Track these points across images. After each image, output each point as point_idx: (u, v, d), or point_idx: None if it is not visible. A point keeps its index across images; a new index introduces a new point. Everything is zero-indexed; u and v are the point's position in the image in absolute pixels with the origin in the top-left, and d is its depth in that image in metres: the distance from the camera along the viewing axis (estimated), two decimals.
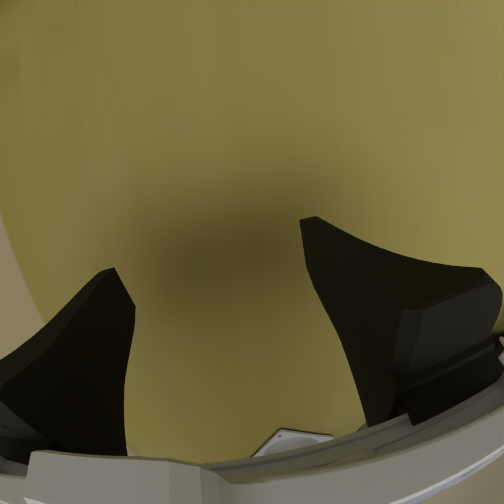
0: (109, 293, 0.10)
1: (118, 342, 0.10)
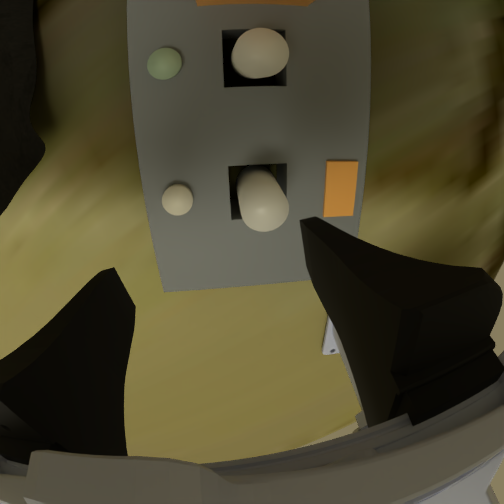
0: (109, 293, 0.10)
1: (118, 342, 0.10)
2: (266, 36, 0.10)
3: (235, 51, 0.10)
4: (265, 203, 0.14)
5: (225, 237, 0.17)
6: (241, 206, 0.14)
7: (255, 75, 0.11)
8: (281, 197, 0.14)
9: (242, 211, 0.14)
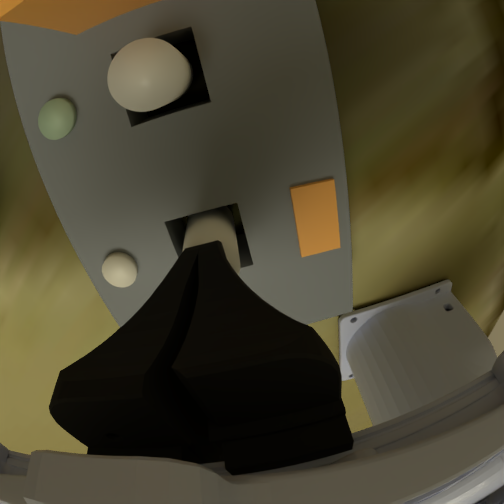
0: None
1: None
2: (145, 50, 0.07)
3: (110, 85, 0.07)
4: None
5: None
6: None
7: (144, 109, 0.08)
8: (225, 250, 0.11)
9: None
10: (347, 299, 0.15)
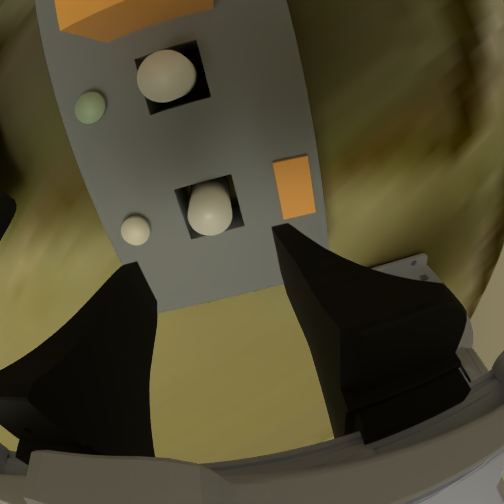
0: (133, 287, 0.10)
1: (143, 337, 0.10)
2: (164, 58, 0.10)
3: (138, 83, 0.10)
4: (208, 209, 0.15)
5: (190, 256, 0.17)
6: (188, 216, 0.15)
7: (163, 101, 0.11)
8: (221, 201, 0.15)
9: (189, 221, 0.15)
10: None
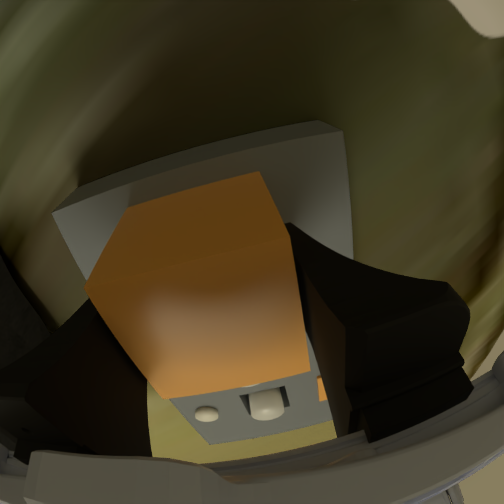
0: None
1: None
2: None
3: None
4: (267, 410, 0.18)
5: (247, 421, 0.20)
6: (251, 413, 0.18)
7: (245, 386, 0.14)
8: (277, 407, 0.18)
9: (252, 416, 0.18)
10: None
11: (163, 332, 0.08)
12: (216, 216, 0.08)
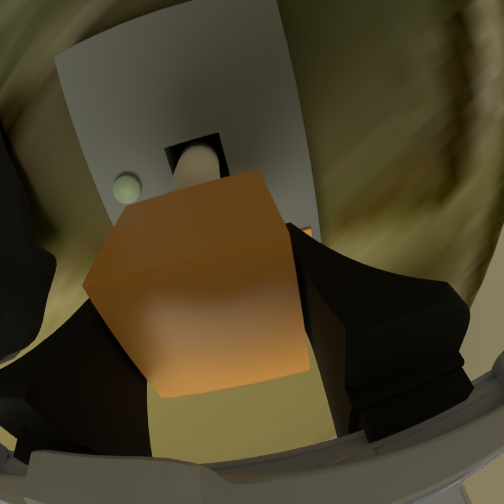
0: None
1: None
2: (196, 164, 0.14)
3: (174, 184, 0.14)
4: None
5: None
6: None
7: None
8: None
9: None
10: None
11: (162, 330, 0.08)
12: (215, 213, 0.08)
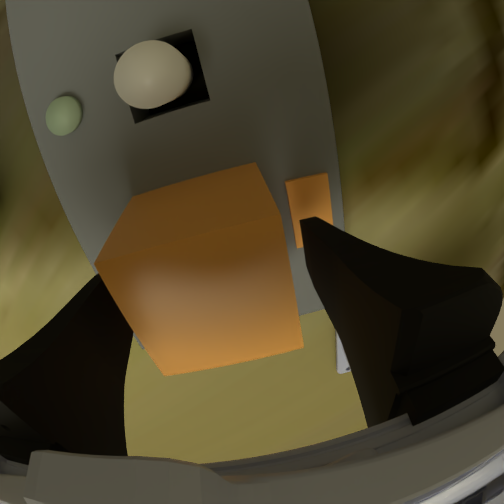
0: (109, 293, 0.10)
1: (118, 341, 0.10)
2: (149, 51, 0.07)
3: (116, 84, 0.08)
4: None
5: None
6: None
7: (148, 107, 0.08)
8: None
9: None
10: None
11: (166, 306, 0.09)
12: (215, 200, 0.09)
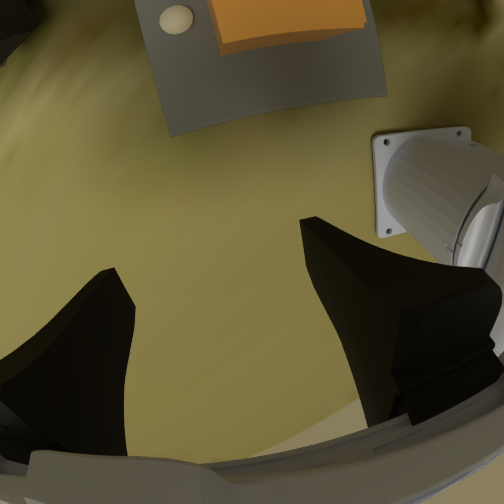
0: (109, 293, 0.10)
1: (118, 342, 0.10)
2: None
3: None
4: None
5: None
6: None
7: None
8: None
9: None
10: (380, 80, 0.14)
11: None
12: None
